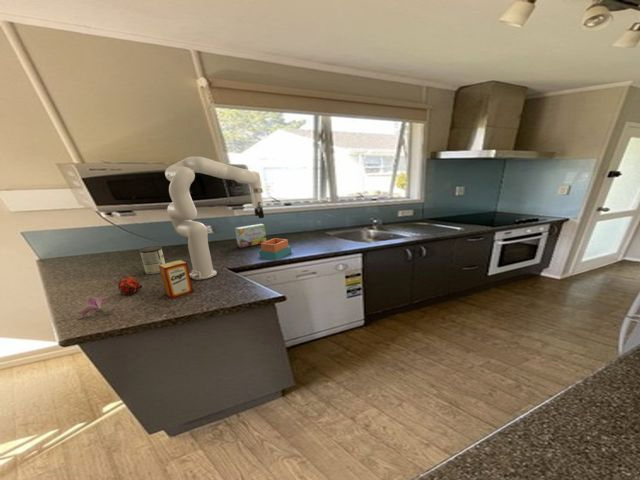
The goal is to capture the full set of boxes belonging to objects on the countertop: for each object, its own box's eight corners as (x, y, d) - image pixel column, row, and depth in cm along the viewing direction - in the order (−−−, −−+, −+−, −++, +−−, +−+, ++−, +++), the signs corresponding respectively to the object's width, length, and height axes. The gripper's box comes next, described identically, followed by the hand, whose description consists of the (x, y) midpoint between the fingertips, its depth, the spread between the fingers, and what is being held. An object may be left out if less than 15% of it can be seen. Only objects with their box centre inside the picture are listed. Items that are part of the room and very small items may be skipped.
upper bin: (275, 259, 191) (274, 244, 188) (262, 257, 194) (260, 243, 191) (289, 253, 203) (287, 239, 200) (276, 251, 207) (274, 238, 204)
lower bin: (276, 260, 189) (275, 252, 188) (259, 258, 194) (258, 250, 192) (291, 253, 204) (290, 246, 202) (276, 251, 208) (275, 244, 207)
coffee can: (144, 270, 170) (137, 248, 166) (165, 266, 177) (159, 244, 173) (146, 275, 163) (140, 252, 159) (168, 271, 170) (162, 248, 166)
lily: (118, 307, 131) (101, 291, 127) (124, 304, 123) (105, 287, 120) (88, 326, 122) (68, 309, 119) (92, 325, 115) (71, 307, 111)
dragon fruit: (131, 290, 148) (137, 301, 141) (111, 286, 141) (116, 297, 134) (141, 276, 149) (146, 285, 142) (121, 271, 142) (126, 281, 135)
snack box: (241, 248, 215) (238, 228, 210) (237, 246, 218) (234, 227, 213) (266, 242, 231) (264, 224, 226) (263, 241, 234) (260, 223, 230)
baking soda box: (171, 298, 137) (163, 267, 132) (166, 294, 141) (158, 264, 136) (193, 291, 144) (186, 261, 139) (187, 288, 148) (180, 259, 143)
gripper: (247, 189, 190) (250, 215, 196) (253, 192, 177) (256, 219, 182) (259, 189, 194) (262, 214, 200) (265, 191, 181) (268, 218, 186)
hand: (259, 216), depth 191 cm, fingers open, 9 cm apart
